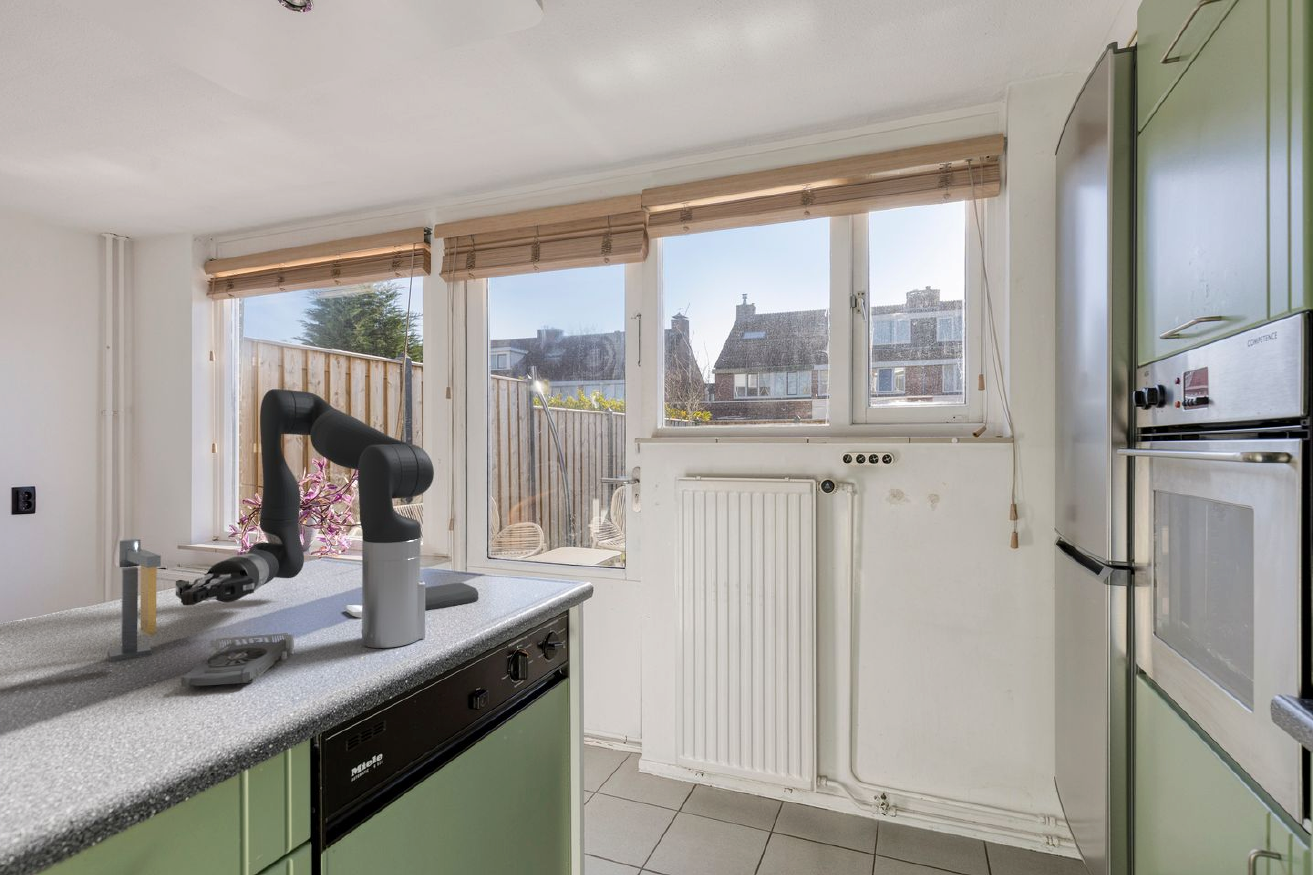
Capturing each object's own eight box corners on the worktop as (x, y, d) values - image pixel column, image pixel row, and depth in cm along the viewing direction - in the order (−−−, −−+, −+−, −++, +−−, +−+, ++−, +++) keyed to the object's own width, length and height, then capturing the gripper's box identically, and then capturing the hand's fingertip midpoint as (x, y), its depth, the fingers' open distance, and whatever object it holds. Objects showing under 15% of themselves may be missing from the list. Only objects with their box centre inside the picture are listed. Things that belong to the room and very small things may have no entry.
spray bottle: (481, 603, 138) (358, 626, 122) (460, 593, 146) (342, 613, 131) (481, 589, 138) (357, 610, 122) (460, 580, 146) (342, 599, 131)
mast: (147, 647, 107) (147, 564, 107) (151, 654, 103) (151, 568, 103) (107, 654, 104) (108, 568, 104) (110, 661, 100) (110, 572, 100)
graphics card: (213, 636, 103) (296, 630, 106) (213, 660, 103) (296, 653, 106) (153, 675, 87) (253, 667, 89) (154, 703, 87) (254, 694, 89)
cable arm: (164, 632, 97) (164, 546, 97) (142, 637, 95) (143, 549, 95) (137, 618, 105) (137, 538, 105) (116, 621, 103) (117, 540, 103)
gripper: (199, 557, 121) (141, 576, 104) (277, 555, 123) (232, 574, 106) (199, 597, 121) (141, 624, 104) (276, 595, 123) (232, 620, 106)
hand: (187, 599), depth 105 cm, fingers closed
